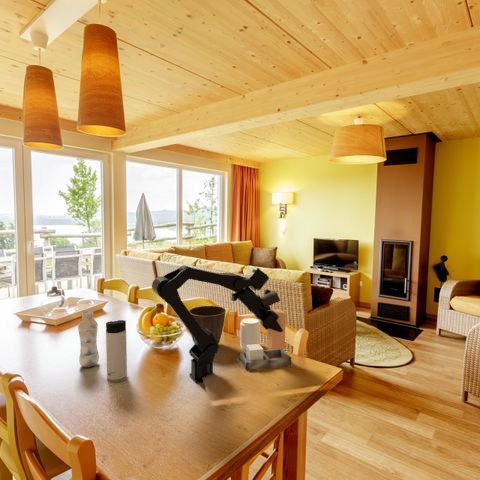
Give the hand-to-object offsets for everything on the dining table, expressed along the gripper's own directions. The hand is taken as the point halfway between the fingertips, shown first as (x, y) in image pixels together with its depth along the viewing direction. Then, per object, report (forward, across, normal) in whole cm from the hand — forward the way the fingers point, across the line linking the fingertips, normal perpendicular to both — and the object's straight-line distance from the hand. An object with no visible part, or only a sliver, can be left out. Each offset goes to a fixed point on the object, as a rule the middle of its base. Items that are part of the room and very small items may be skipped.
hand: (279, 328), depth 122 cm
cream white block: (+2, 0, +15) cm, 16 cm away
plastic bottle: (-39, +9, +59) cm, 71 cm away
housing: (+6, 0, +13) cm, 14 cm away
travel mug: (-30, -2, +50) cm, 59 cm away
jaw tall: (+4, 0, +6) cm, 7 cm away
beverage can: (+4, +15, +15) cm, 22 cm away
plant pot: (-8, +18, +28) cm, 34 cm away
